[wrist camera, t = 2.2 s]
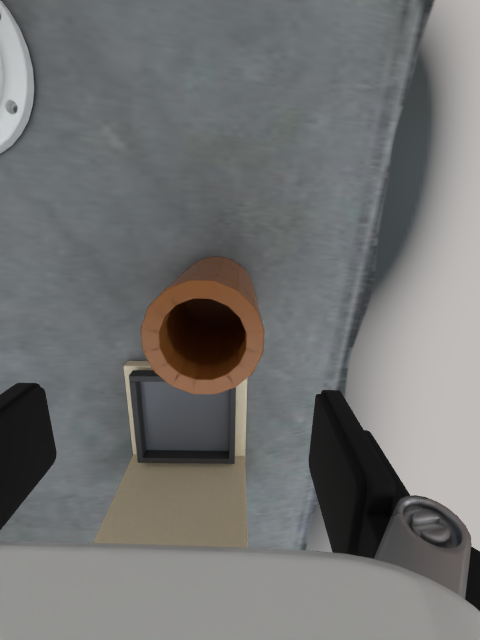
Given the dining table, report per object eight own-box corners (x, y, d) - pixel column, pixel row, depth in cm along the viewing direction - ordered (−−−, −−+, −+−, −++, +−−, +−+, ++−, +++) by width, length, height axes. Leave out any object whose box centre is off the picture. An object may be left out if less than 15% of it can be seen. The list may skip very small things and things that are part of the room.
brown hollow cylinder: (179, 255, 27) (136, 279, 16) (254, 257, 27) (266, 281, 16) (182, 327, 29) (146, 394, 18) (252, 328, 29) (261, 395, 18)
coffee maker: (126, 360, 30) (-246, 815, 7) (248, 362, 30) (280, 814, 7) (139, 486, 35) (-53, 1002, 12) (244, 488, 35) (256, 999, 12)
